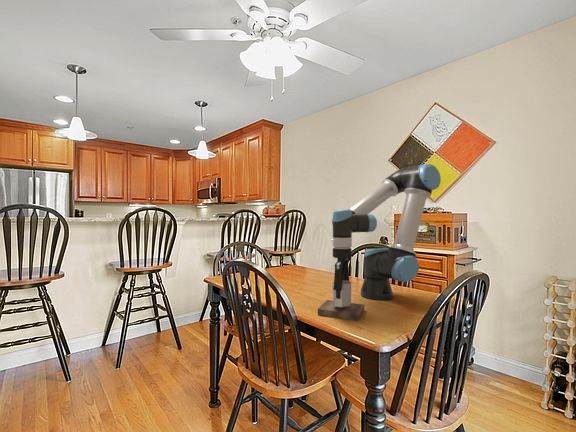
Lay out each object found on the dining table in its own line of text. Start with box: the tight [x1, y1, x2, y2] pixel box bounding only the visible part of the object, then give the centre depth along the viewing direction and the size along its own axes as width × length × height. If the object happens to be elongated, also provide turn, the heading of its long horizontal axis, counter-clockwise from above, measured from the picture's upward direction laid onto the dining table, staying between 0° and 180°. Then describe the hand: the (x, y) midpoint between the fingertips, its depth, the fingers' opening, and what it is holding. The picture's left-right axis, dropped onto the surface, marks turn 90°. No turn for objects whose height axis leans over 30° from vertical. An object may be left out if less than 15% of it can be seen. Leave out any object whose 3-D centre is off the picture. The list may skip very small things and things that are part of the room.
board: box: [317, 299, 365, 322], centre depth 122 cm, size 16×13×2 cm
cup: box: [332, 280, 352, 307], centre depth 122 cm, size 7×10×9 cm
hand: (341, 302), depth 122 cm, fingers closed on cup, 10 cm apart
